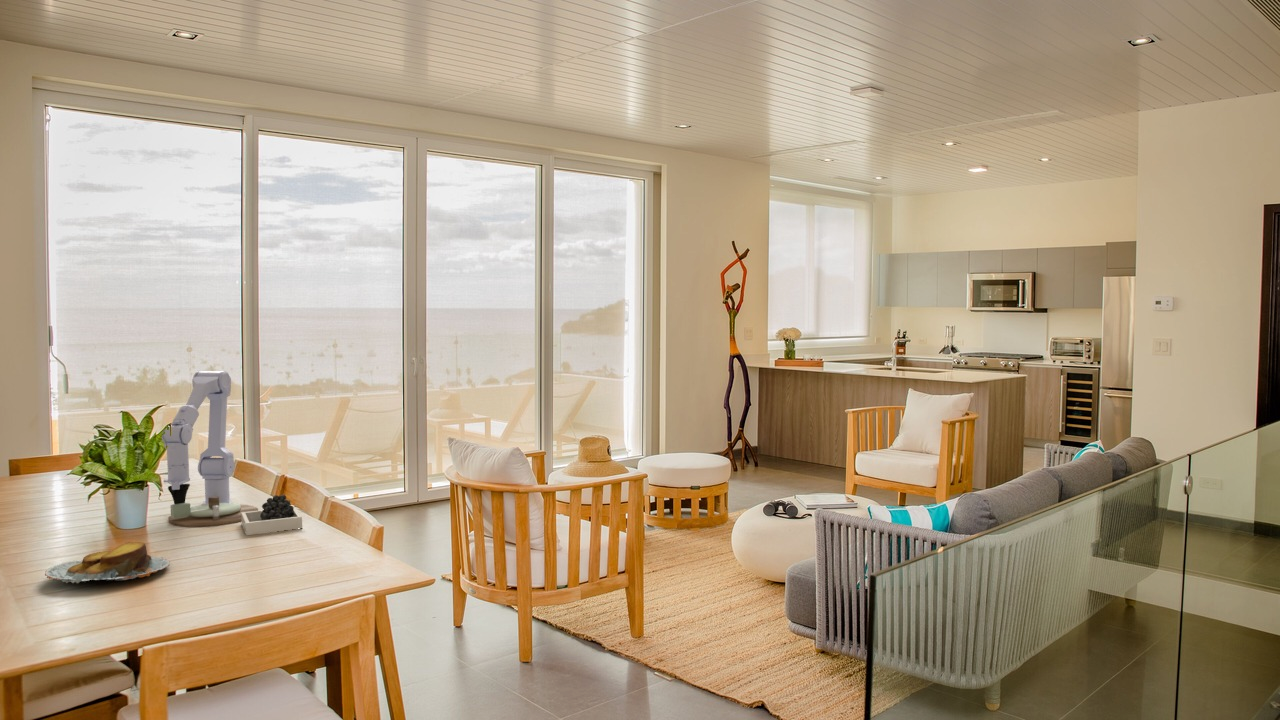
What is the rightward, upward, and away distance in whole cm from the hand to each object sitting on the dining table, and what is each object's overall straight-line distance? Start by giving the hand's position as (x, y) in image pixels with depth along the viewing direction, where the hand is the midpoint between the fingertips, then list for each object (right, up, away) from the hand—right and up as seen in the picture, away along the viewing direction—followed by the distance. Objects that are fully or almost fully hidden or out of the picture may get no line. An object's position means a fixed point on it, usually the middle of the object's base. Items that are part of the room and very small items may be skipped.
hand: (179, 508), depth 266 cm
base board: (+8, -3, +5) cm, 10 cm away
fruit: (+31, -4, -7) cm, 32 cm away
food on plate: (+12, -7, -55) cm, 56 cm away
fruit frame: (+31, -4, -7) cm, 32 cm away
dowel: (+13, -4, -3) cm, 14 cm away
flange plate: (+7, -2, +3) cm, 7 cm away
